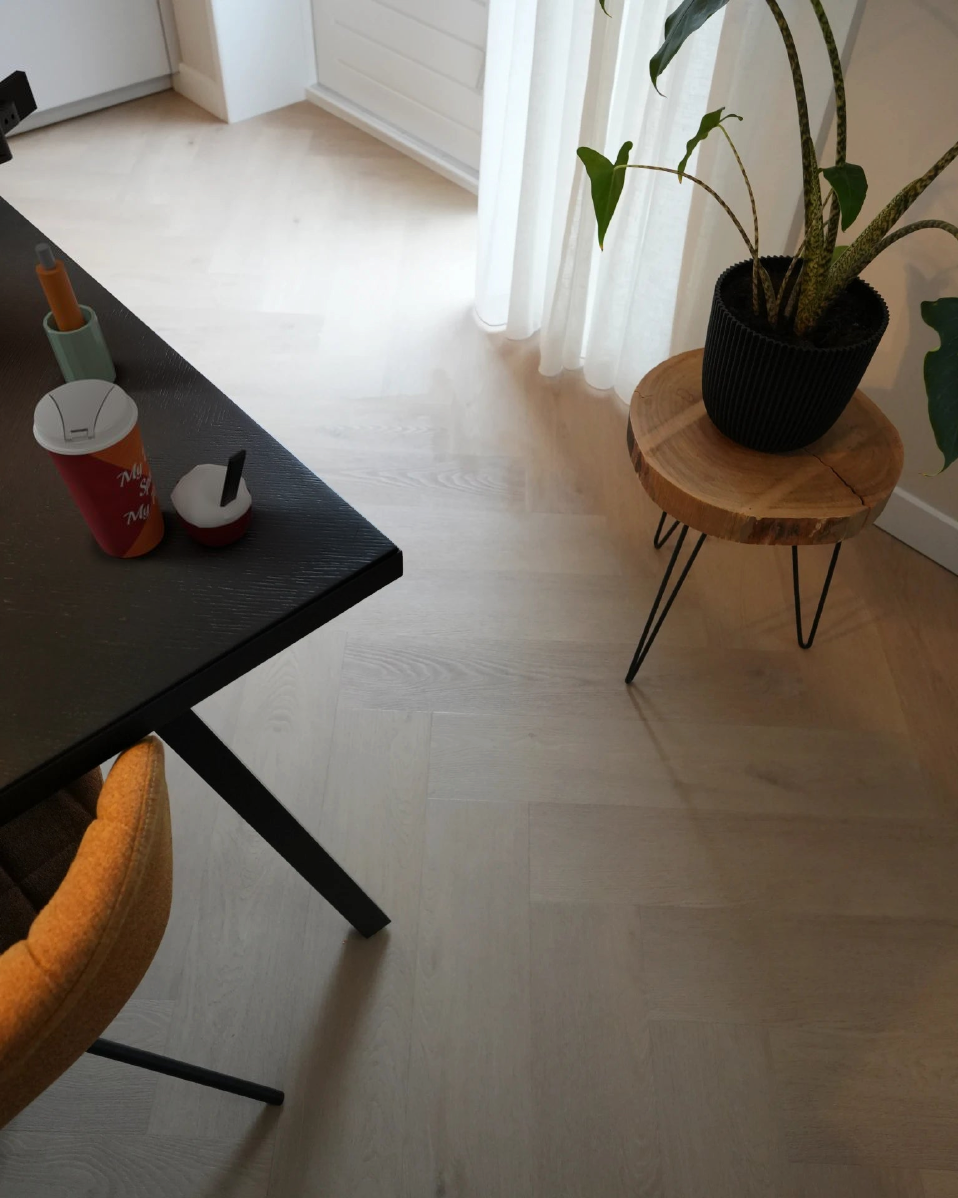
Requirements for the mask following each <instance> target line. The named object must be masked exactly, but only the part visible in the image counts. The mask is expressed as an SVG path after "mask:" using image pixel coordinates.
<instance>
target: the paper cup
mask: <svg viewBox="0 0 958 1198" xmlns="http://www.w3.org/2000/svg"><path fill="white" fill-rule="evenodd" d="M138 416H139V409H138V407H137V404H136V402H135V400H134V399H133V398H132V397H130V396H129V395H128V394H127V393H126V392H125V390H124V389H123V388H122V387H120V386H119V385H118V384H116V383H114V382H113V383H110V382H107V381H103V380H97V379H88V380H80V381H74V382H70V383H67V382H66V383H64V384H62V385H59V386H58V387H56V388H54V389H53V390H51V391H49V392H48V393H46V394H45V395H44V396H43V397H42V398H41V399H40V400H39V401H38V403H37V404H36V406H35V409H34V414H33V420H34V421H33V427H32V431H33V435H34V439H35V440H36V442H37V443H38V444H39V445H40V446H41V447H42V448H44V449H46V451H47V453H48V455H49V457H50V459H51V460H52V462H53V464H54V466H55V467H56V470H57V471H58V474H59V475H60V477H61V479H62V480H63V483H64V484H65V486H66V488H67V490H68V492H69V494H70V496H71V497H72V499H73V501H74V503H75V504H76V506H77V508H78V510H79V511H80V513H81V515H82V517H83V519H84V521H85V522H86V524H87V526H88V529H90V531H91V534H92V535H93V537H94V538H95V541H96V542H97V543H98V545H99V547H100V548H101V549H102V551H104V552H105V553H106V554H108V555H110V556H111V557H114V558H115V557H116V558H122V559H129V558H135V557H139V556H142V555H145V554H147V553H148V552H150V551H152V550H153V549H154V548H156V546H158V545H159V544H160V542H161V541H162V539H163V537H164V534H165V523H164V518H163V514H162V509H161V506H160V502H159V497H158V495H157V491H156V486H155V483H154V479H153V475H152V472H151V469H150V464H149V461H148V458H147V454H146V450H145V447H144V443H143V439H142V435H141V433H140V429H139V426H138V422H137V421H138Z"/></svg>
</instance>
